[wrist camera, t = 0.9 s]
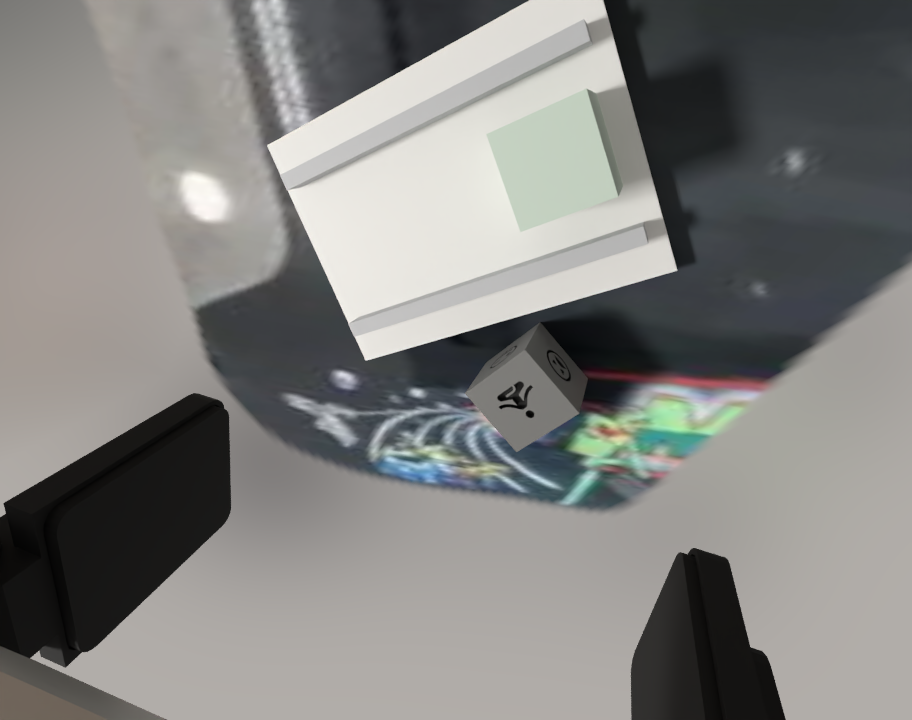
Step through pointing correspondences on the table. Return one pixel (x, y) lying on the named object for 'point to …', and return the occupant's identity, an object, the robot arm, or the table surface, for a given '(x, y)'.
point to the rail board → (481, 182)
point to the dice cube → (529, 388)
